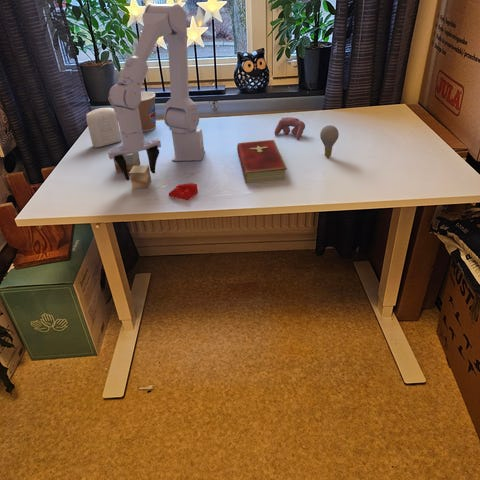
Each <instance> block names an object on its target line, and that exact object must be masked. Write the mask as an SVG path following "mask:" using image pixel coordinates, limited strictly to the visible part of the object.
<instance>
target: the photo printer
mask: <svg viewBox="0 0 480 480" xmlns="http://www.w3.org/2000/svg"><path fill="white" fill-rule="evenodd" d="M85 118H86V123H87V127H88V131H89V136H90V140H91V144H92V147H93V148H95V149H97V148H100V147H105V146H109V145H112V144H116V143H120V142H122V136H121V132H120V127H119V122H118V117H117V113H116V112H115V111H114V107H100V108H99V107H98V108H96V109H93V110H91V111H90V112H87V113H86V114H85Z"/></svg>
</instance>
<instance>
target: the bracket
mask: <svg viewBox="0 0 480 480" xmlns="http://www.w3.org/2000/svg"><path fill="white" fill-rule="evenodd" d="M197 194H199V191H198V184H197V183H193V182H190V183H183V184H177V185H176V186H175V188H173V189H172V190H171V191H170V192H168V197H172V198H176V199H180V200H183V201H187V202H188V201H190V200H191V199H192V198H193V197H195V195H197Z"/></svg>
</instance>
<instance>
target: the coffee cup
mask: <svg viewBox="0 0 480 480" xmlns="http://www.w3.org/2000/svg"><path fill="white" fill-rule="evenodd" d="M155 100H156V93H155V92H153V91H141V102H140V104H139V105H138V110H139V116H140V121H141V127H142V132H148V131H152V130H155V128H156V127H157V126H156V124H157V117H156V114H157V113H156V101H155Z"/></svg>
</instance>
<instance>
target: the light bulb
mask: <svg viewBox="0 0 480 480" xmlns="http://www.w3.org/2000/svg"><path fill="white" fill-rule="evenodd" d="M319 136H320V140H321V142H322V144H323V145H324V146H323V147H324V156H325V157H326V158H329V157H331V156H332V152H333V147H334V146H335V144H336V142H337V141H338V139H339V137H340V134H339V130H338V128H337V127H336V126H334V125H331V124H330V125H326V126H324V127H323V128H322V129H321V130H320V134H319Z"/></svg>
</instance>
